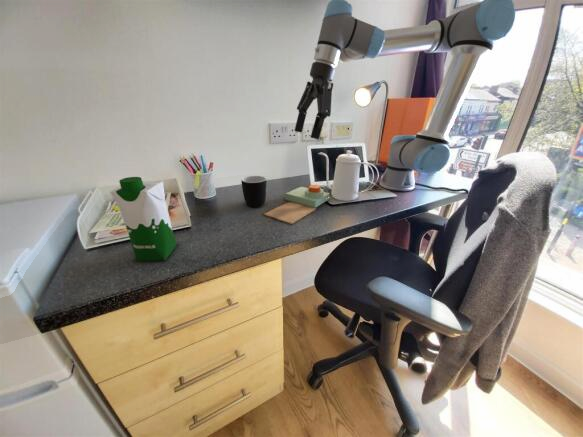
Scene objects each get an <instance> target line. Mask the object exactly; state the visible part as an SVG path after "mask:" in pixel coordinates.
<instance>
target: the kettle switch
mask: <svg viewBox="0 0 583 437" xmlns="http://www.w3.org/2000/svg"><path fill="white" fill-rule="evenodd" d="M308 188H309V192H312V193H317V192H320V189H321V185H319V184H309V185H308Z"/></svg>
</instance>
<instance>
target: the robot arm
mask: <svg viewBox="0 0 583 437" xmlns="http://www.w3.org/2000/svg"><path fill="white" fill-rule="evenodd" d="M352 15H353V6H352V4H351V3H349V2H348V1H347V0H330V1H329V2H328V3H327V6H326V9H325V11H324V15H323V18H322V23H321V27H320V31H319V36H318V39H317V44H316V47H314V56H313V63H311V67H310V70H309V76H310V77H311V78H312V81H309V80H308V81H307V82H306V85H305V88H304V90H303V93H302V95H301V98H300V99H299V102H298V104H297V106H296V110H297V111H298V115H297V119H296V122H295V126H294V132H297V133H302V132H303V129H304V125H305V121H306V118H307V114H308V112H307V111H308V110H309V108H310V107H311V105H312V104H313V102H314V100H316V104H317V113H316V116H315V119H314V123H313V127H312V131H311V133H310V134H311V135H310V139H315V140H319V139H320V137H321V133H322V129H323V126H324V123H325V119H326V118H327V117H331V114H332V113H331V112H332V97H333V96H332V95H333V88H334V83H333V80H334V76H335V73H336V68H337V66H338V63H349V62H351V61H357V60H365V59H375V58H379V57H387V56H394V55H401V54H408V53H409V54H410V53H416V52H424V53H425V54H435V53H450V54H451V56H452V58H451V60H450V63H449V65H448V68H447V70H446V73H445V75H444V77H443V80H442V82H441V84H440V87H439V89H438V92H437V95H436V97H435V99H434V102H433V104H432V107H431V108H430V111H429V114H428V116H427V118H426V121H425V124H424V126H423V129H422V130H420V131H418V132H417V133H416V134H406V135H405V134H404V135H403V134H401V135H394V136H393V137H392V138H391V141H390V143H389V146H390V147H389V152H388V158H387V162H386V168H385V170H384V173H383V174H382V175H381V176H380V177H381V178H380V180H379V187H381V188H383V189H386V190H390V191H394V192H410V191H413V190H415V186H418V187H424V188H426V189H430V190H437V191H438V190H444V191H449V192H454V193H456V192H465V193H466V194H469V193H468V191H469V190H468V189H467V188H457V189H454V188H449V187H446V186H445V187H444V186H437V187H436V186H431V185H428V184H423V183H420V182H416V180H415V172H416V173H418V174H423V175H433V174H436V173H437V172H440V171H441V170H442V169H443V168H445V166H446V165H448V163H449V160H450V159H451V150H450V147H448V146H449V144H450V142H451V141H450V137H449V133H450V130H451V128H452V126H453V125H454V122H455V119H456V118H457V115H458V113H459V111H460V108H461V106H462V104H463V103H464V100H465V98H466V95H467V93H468V91H469V89H470V87H471V85H472V82H473V80H474V78H475V76H476V74H477V71H478V69H479V67H480V65H481V63H482V60H484V59H486V58H487V57H488V56H490V55H491V53H492V51H493V49H494V46H495V45H496V43H498V42H500V41H502V40H503V39H504V38H506V37H507V36H508V34H509V33H510V32H511V30H512V28H513V26H514V23H515V20H516V9H515V4H514V2H513V0H482V1H480V2H478V3H475V4H473V5H471V6H469V7H466V8H464V9H461V10H460V11H457V12H455V13H453V14H450V15H449V16H446V17H443V18H440V19H434V20H431V21H430V22H429V23H428V24H423V25H415V26H414V25H413V26H406V27H400V28H392V29H385V30H384V29H381V28H379V27H378V26H377V25H373V24H370V23H368V22H365V21H363V20H361V19H358V18H357V17H354V16H352Z"/></svg>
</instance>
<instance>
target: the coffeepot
mask: <svg viewBox="0 0 583 437" xmlns="http://www.w3.org/2000/svg"><path fill="white" fill-rule="evenodd" d="M317 155H321V156H324V157H325V164H326V166H325V167H326V168H325V169H326V172H325V173H326V177H325V178H326V185H327V186H326V187H328V188H329V189H330V190H331V193H330V195H331V196H332V195H333V196H332V197H333V198H334V199H335V200H338V201H343V202H344V201H345V202H349V201H355V200H356V199H357V198H358V197H359V196H360V195H359V194H363V193H365V192H368V191H370V190H371V189H372V188H373V187H374V186H375V185H376V184H377V182H378V180H379V176H380V172H379V169H378V168H377V166H376V165H374V164H373V163H371V162H368V161H367V162H366V161H363V162H361V158H360V156H359V155H357V154H353V150H346V153H342V154H339V155H338V156H337V158H336V159H335V160H336V161H335V168H334V175H333V181H332V186H331V184H330V183H329V182H330V181H329V179H330V178H329V176H330V175H329V173H330V171H329V170H330V169H329V163H330V162H329V156H328V155H327V153H325V152H322V151H321V152H318V153H317ZM361 165H366V166H367V167H369V168H370V171H371V172H372V179H371V183H370V185H368V187H367V188H365V189H364V190H361V191H359V188H360V187H359V186H360V172H361V170H360V169H361ZM373 168H374V169H375V170H376V173H377V176H376V180H375V182H374V178H375V173H374V169H373ZM373 182H374V184H373ZM372 184H373V185H372Z"/></svg>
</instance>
